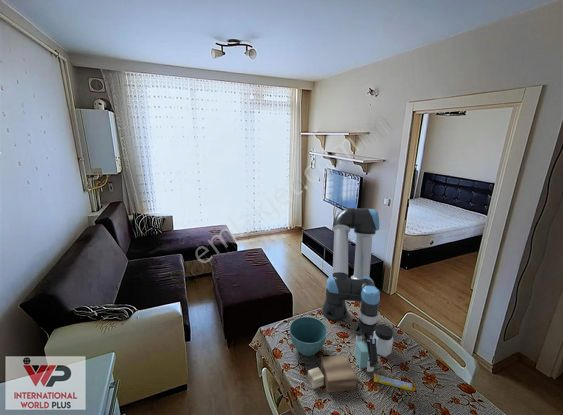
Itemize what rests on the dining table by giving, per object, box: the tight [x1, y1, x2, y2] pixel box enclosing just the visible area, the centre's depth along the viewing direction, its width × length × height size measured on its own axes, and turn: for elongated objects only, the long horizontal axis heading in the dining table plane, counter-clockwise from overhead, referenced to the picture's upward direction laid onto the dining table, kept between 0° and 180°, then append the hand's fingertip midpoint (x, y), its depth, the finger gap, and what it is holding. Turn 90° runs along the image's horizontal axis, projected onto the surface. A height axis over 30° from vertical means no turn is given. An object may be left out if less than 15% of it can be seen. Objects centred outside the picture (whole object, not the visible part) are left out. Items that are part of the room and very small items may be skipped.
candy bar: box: [373, 372, 416, 393], centre depth 112 cm, size 17×4×2 cm, turn 73°
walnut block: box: [320, 354, 357, 393], centre depth 113 cm, size 12×12×6 cm
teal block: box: [354, 340, 369, 369], centre depth 121 cm, size 6×6×9 cm
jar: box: [373, 323, 394, 358], centre depth 128 cm, size 9×8×12 cm
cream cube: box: [307, 366, 325, 390], centre depth 111 cm, size 5×5×5 cm
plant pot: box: [289, 316, 328, 357], centre depth 128 cm, size 18×18×12 cm
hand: (363, 358), depth 121 cm, fingers open, 13 cm apart
